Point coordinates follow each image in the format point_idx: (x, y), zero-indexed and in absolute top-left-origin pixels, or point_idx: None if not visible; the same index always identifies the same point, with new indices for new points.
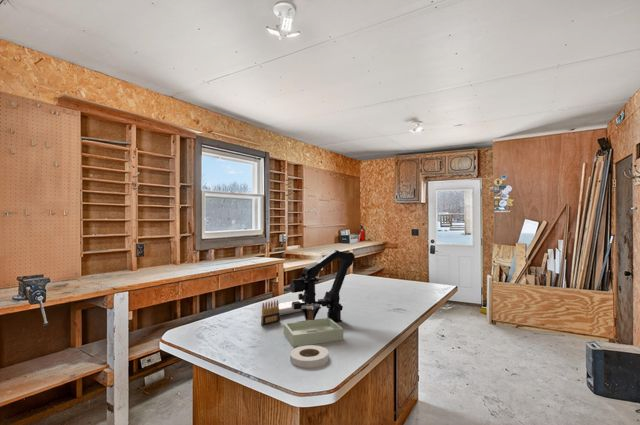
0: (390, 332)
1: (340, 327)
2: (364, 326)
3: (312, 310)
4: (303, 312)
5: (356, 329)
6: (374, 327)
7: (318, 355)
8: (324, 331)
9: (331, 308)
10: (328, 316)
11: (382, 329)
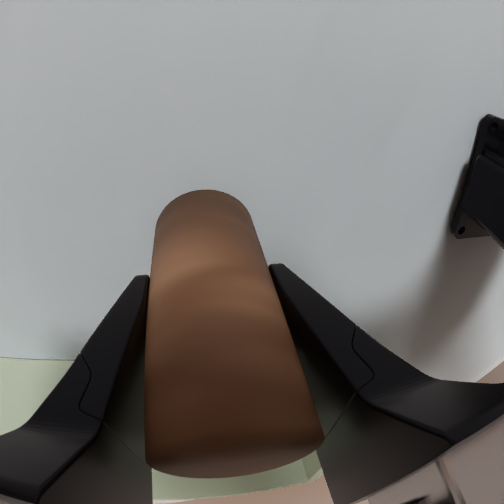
0: (478, 374)
1: (314, 477)
2: (494, 324)
3: (274, 468)
4: (69, 398)
5: (443, 357)
6: (499, 336)
7: (161, 500)
8: (219, 496)
9: None
10: (495, 214)
11: (492, 353)
